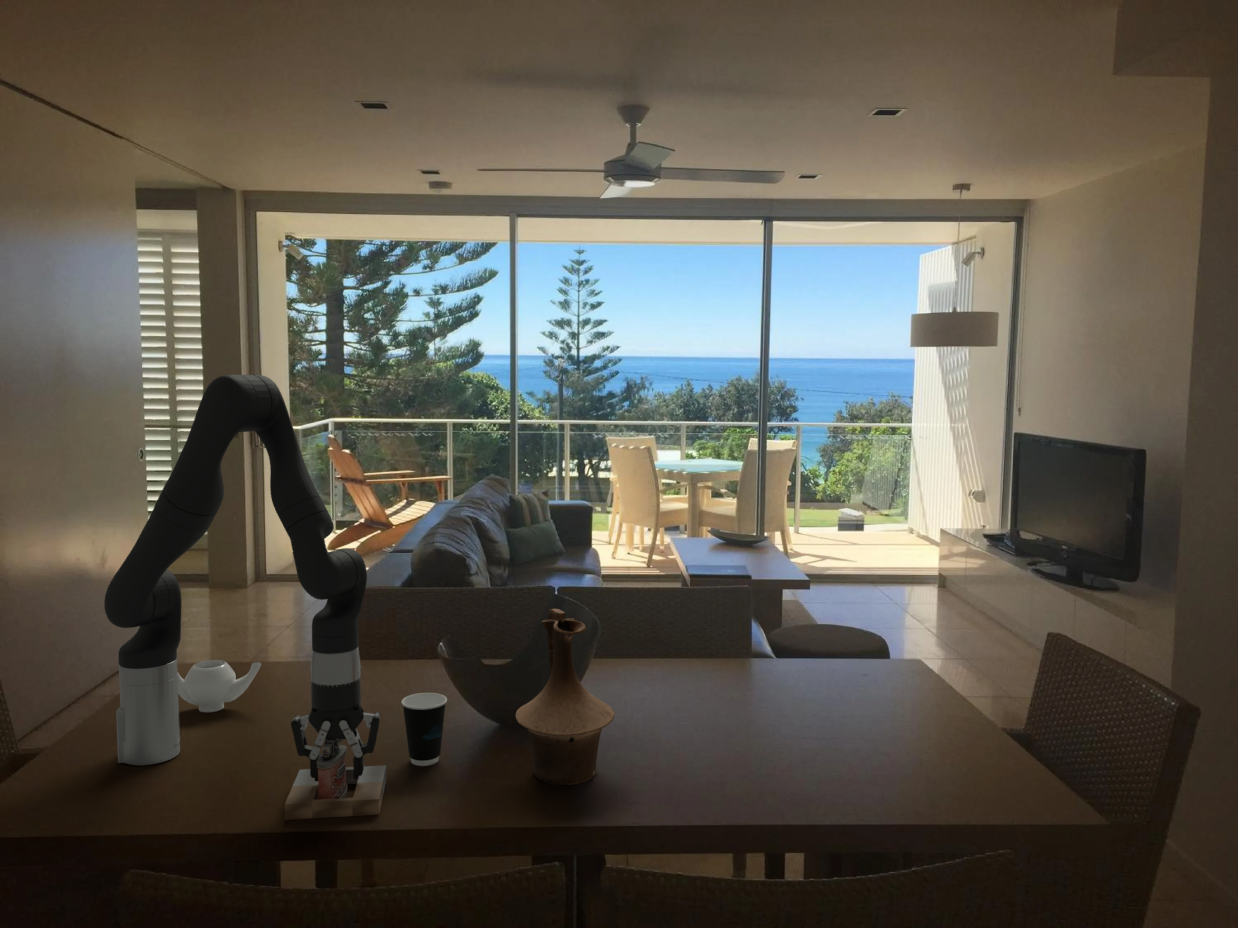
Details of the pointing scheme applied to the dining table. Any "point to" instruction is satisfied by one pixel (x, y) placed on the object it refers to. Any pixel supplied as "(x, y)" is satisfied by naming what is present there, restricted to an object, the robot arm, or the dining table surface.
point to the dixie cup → (424, 726)
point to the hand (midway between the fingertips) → (337, 777)
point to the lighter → (332, 770)
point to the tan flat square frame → (364, 801)
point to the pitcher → (564, 713)
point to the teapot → (213, 684)
